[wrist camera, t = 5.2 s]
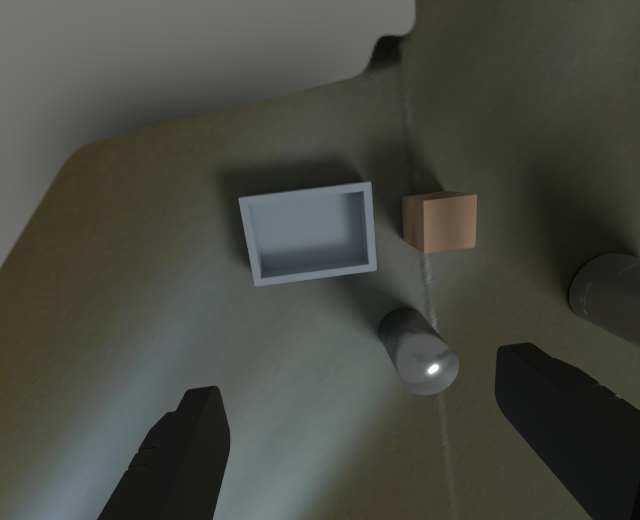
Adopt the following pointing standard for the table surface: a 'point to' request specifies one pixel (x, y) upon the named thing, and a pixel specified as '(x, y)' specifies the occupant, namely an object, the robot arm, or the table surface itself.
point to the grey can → (418, 352)
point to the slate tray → (310, 232)
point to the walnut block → (439, 221)
